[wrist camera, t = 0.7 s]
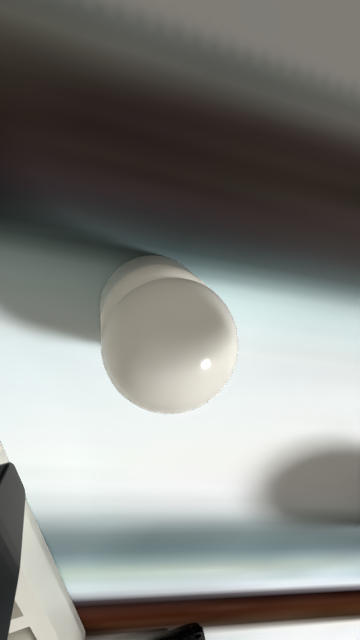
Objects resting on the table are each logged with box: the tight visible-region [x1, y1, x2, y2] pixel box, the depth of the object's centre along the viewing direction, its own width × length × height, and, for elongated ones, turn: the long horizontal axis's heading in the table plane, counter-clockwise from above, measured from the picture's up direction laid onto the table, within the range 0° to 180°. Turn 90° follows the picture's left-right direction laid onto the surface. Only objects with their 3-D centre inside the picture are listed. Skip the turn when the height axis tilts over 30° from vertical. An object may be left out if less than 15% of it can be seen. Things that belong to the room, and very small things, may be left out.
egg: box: [100, 255, 239, 414], centre depth 13 cm, size 5×5×7 cm
